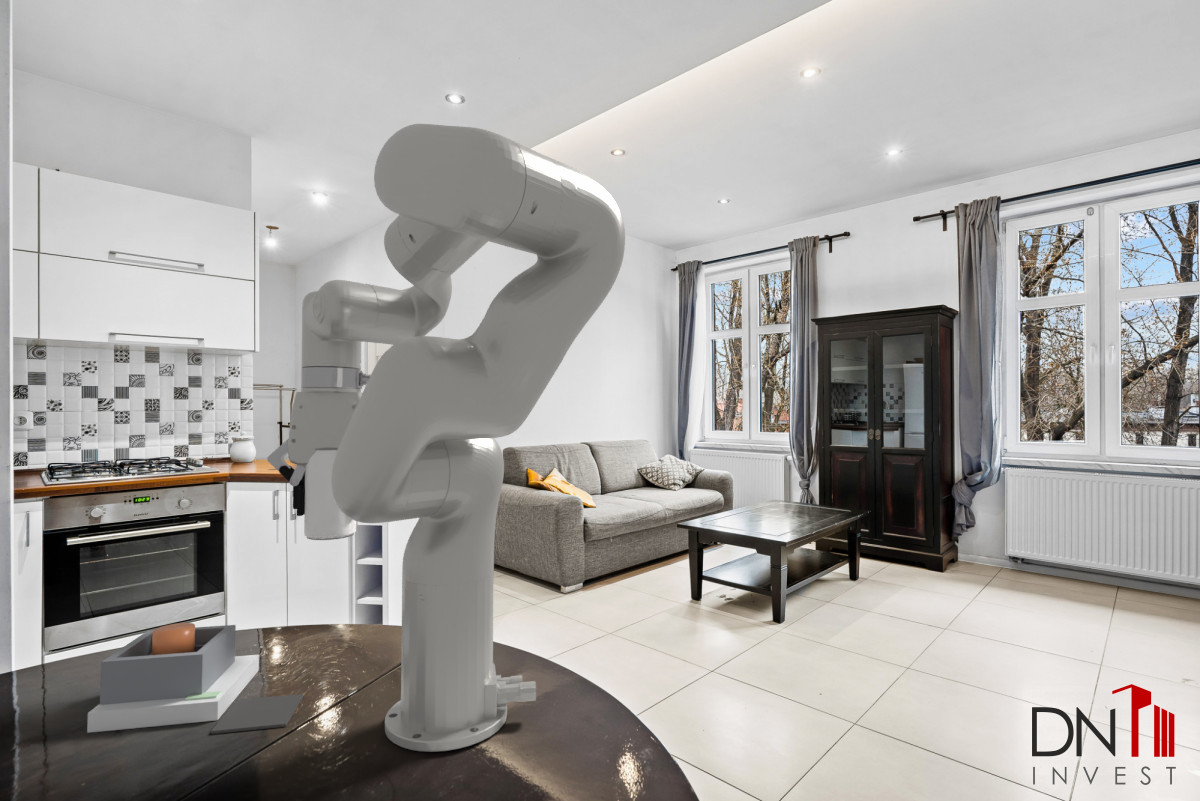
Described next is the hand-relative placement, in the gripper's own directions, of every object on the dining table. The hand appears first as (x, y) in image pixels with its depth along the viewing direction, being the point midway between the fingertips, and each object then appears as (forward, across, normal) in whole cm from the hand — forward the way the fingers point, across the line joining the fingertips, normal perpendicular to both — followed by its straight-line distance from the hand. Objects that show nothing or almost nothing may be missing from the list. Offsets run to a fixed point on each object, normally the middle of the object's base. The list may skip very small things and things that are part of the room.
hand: (330, 512), depth 82 cm
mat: (+19, +4, +16) cm, 25 cm away
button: (+14, +15, +10) cm, 23 cm away
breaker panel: (+19, +14, +10) cm, 26 cm away
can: (+3, 0, 0) cm, 3 cm away
